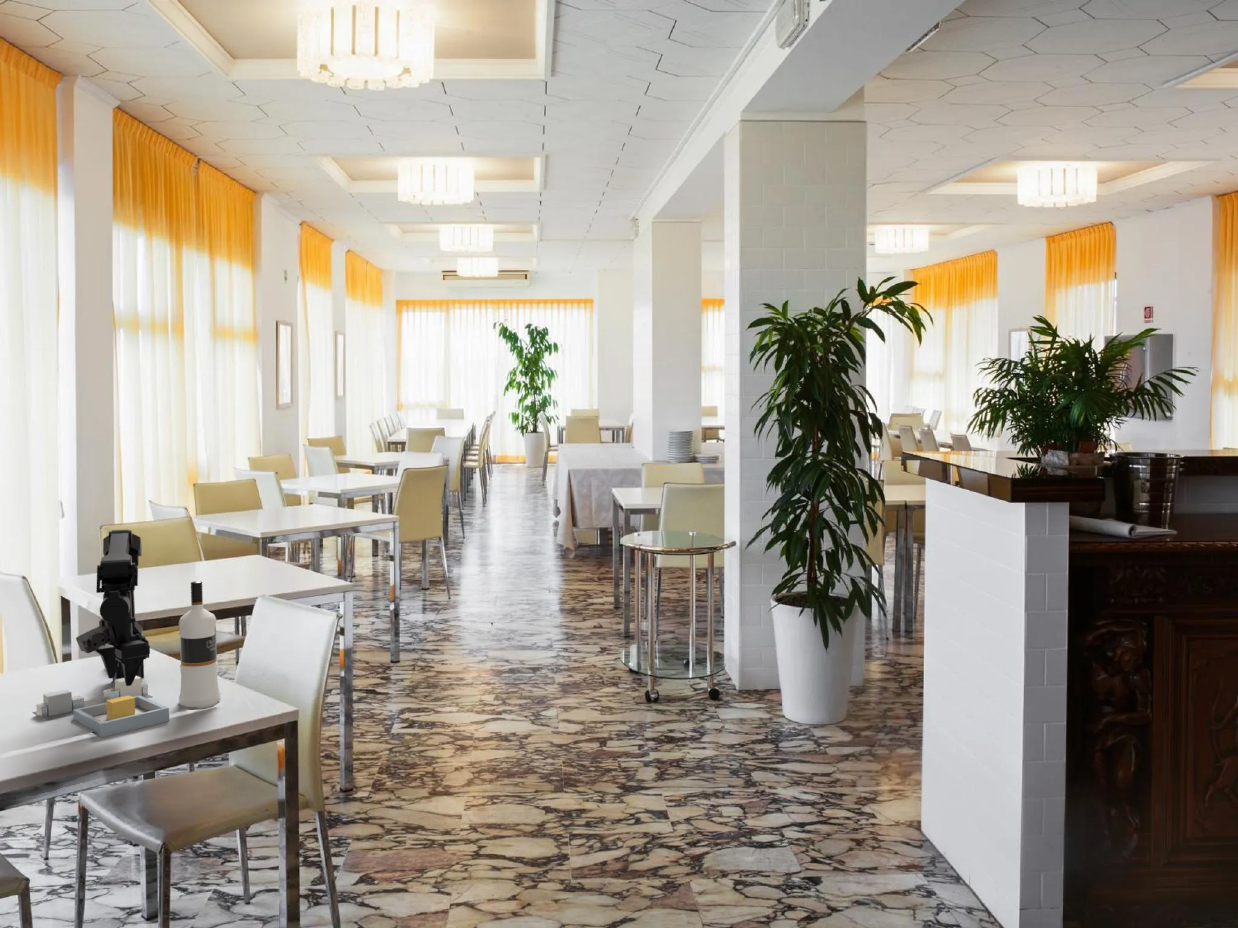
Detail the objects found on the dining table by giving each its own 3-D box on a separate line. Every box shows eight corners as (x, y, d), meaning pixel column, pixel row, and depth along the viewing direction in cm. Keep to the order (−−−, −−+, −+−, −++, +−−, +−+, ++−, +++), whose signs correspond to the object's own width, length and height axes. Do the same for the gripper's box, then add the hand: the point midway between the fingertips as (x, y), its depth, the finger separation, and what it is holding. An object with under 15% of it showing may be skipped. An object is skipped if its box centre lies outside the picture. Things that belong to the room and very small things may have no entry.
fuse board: (137, 693, 253) (136, 679, 253) (153, 700, 247) (153, 686, 247) (32, 716, 235) (31, 701, 235) (46, 724, 229) (46, 709, 229)
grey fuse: (67, 708, 238) (66, 689, 237) (72, 710, 236) (71, 691, 235) (43, 713, 234) (43, 694, 234) (48, 715, 232) (48, 696, 232)
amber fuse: (129, 714, 234) (128, 695, 234) (135, 717, 232) (134, 697, 232) (106, 719, 230) (106, 700, 230) (112, 722, 228) (112, 702, 228)
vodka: (180, 701, 247) (176, 579, 245) (221, 697, 250) (217, 576, 248) (177, 712, 238) (174, 586, 236) (220, 708, 241) (216, 583, 239)
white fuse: (136, 693, 250) (135, 675, 249) (141, 695, 248) (141, 677, 247) (115, 697, 246) (114, 679, 246) (120, 700, 244) (120, 681, 244)
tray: (140, 707, 242) (139, 695, 241) (169, 720, 232) (168, 707, 232) (73, 722, 230) (72, 709, 230) (100, 737, 220) (100, 723, 220)
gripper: (63, 613, 229) (65, 681, 230) (97, 626, 217) (100, 697, 218) (114, 606, 238) (116, 671, 239) (150, 617, 225) (152, 686, 227)
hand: (120, 681), depth 230 cm, fingers open, 9 cm apart
